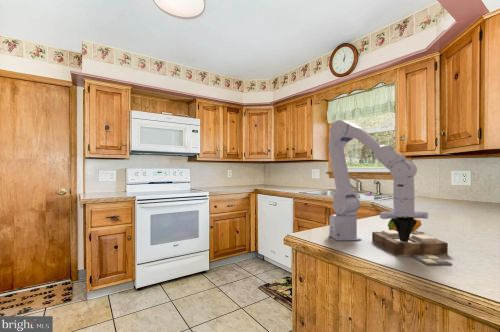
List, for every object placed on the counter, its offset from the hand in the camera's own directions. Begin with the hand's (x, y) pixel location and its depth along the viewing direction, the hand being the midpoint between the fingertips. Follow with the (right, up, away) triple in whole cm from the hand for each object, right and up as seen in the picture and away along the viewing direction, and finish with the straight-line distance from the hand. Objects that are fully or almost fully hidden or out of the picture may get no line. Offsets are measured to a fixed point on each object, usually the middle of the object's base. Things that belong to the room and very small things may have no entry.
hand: (403, 241), depth 80 cm
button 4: (+6, -1, 0) cm, 6 cm away
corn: (+14, -4, +21) cm, 25 cm away
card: (+3, -3, -8) cm, 9 cm away
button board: (+3, -3, +3) cm, 5 cm away
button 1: (0, -1, +6) cm, 6 cm away
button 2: (0, -2, 0) cm, 2 cm away
